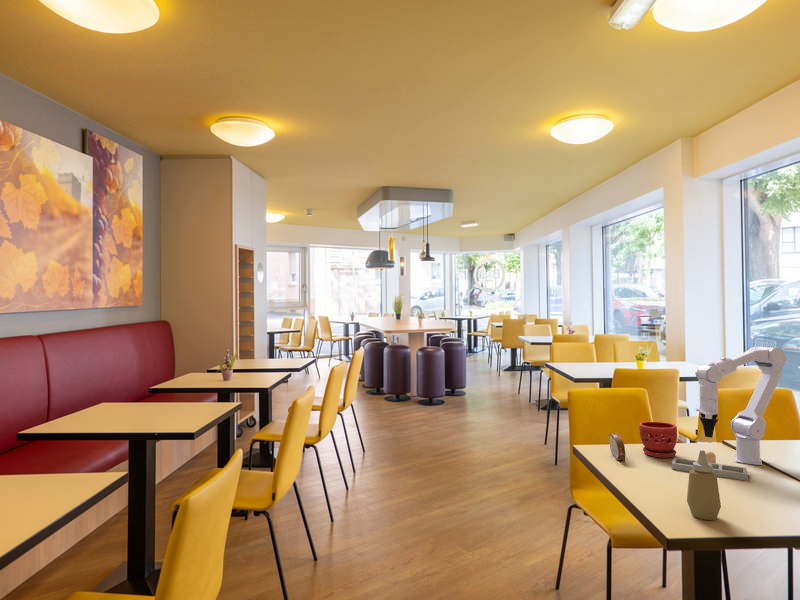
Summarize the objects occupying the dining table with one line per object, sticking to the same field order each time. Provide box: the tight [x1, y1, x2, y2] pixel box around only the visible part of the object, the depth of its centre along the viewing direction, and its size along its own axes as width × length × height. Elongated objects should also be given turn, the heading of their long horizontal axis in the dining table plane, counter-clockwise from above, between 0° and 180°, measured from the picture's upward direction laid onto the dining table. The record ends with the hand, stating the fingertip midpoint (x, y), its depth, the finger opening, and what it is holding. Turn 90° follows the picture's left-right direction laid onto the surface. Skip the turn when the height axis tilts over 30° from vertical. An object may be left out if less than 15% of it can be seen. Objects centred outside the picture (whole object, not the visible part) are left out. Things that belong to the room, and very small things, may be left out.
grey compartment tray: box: [671, 457, 748, 482], centre depth 170 cm, size 8×22×2 cm, turn 56°
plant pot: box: [638, 421, 678, 459], centre depth 190 cm, size 13×13×12 cm
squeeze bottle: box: [686, 450, 722, 521], centre depth 133 cm, size 8×8×18 cm
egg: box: [705, 450, 717, 464], centre depth 179 cm, size 4×4×4 cm
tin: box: [608, 432, 626, 461], centre depth 187 cm, size 15×3×8 cm, turn 168°
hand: (708, 434), depth 179 cm, fingers open, 7 cm apart
